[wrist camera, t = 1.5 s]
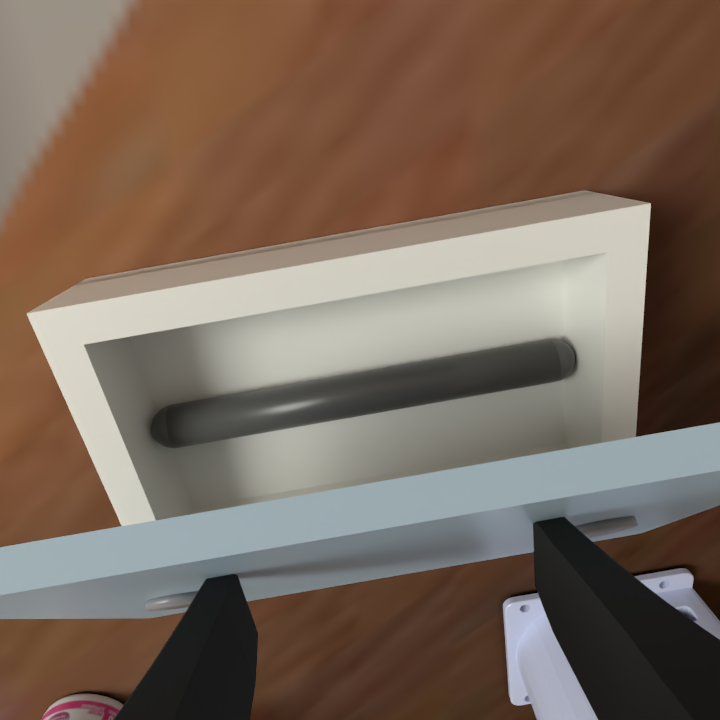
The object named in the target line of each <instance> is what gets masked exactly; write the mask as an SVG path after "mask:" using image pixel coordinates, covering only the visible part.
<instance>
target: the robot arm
mask: <svg viewBox="0 0 720 720" xmlns="http://www.w3.org/2000/svg"><path fill="white" fill-rule="evenodd" d="M533 540H534V570H535V587H536V589H537V592H538V593H534V594H528V595H522V596H516V597H511V598H508V599H507V600H506V601H505V602H504V603H503V616H504V630H505V645H506V659H507V674H508V688H509V697H510V700H511V703H513V704H514V705H525V704H532V707H533V710H534V713H535V715H536V718H537V720H720V621H719V620H718V618H717V617H716V616H715V615H714V613H713V612H712V611H711V610H710V609H709V607H708V606H707V605H706V604H705V603H704V601H703V600H702V599H701V598H700V596H699V595H698V594H697V593H696V592H695V590H694V589H693V588H692V587H693V580H694V578H693V575H692V574H691V573H690V572H689V570H688V569H685V568H679V569H673V570H667V571H661V572H656V573H650V574H644V575H638V576H633V575H632V574H630V573H629V572H628V571H627V570H625V569H624V568H623V567H622V566H620V565H619V564H618V563H617V562H616V561H614V560H613V559H612V558H611V557H610V556H608V555H607V554H606V553H605V552H604V551H603V550H601V549H600V548H599V547H598V546H597V545H596V544H594V543H593V542H592V541H591V540H590V539H589V538H588V537H586V536H585V535H584V534H583V533H582V532H581V531H580V530H579V529H577V528H576V527H575V526H574V525H573V524H572V523H571V522H570V521H568V520H567V519H566V518H565V517H560V518H554V519H548V520H542V521H537V522H534V523H533ZM257 642H258V632H257V630H256V627H255V624H254V621H253V618H252V615H251V612H250V609H249V607H248V604H247V601H246V598H245V595H244V592H243V589H242V587H241V584H240V581H239V578H238V575H236V574H231V575H225V576H219V577H213V578H207V579H206V580H205V581H204V583H203V584H202V586H201V587H200V589H199V591H198V592H197V594H196V596H195V597H194V599H193V601H192V602H191V604H190V606H189V607H188V609H187V611H186V612H185V614H184V615H183V617H182V619H181V620H180V622H179V623H178V625H177V627H176V628H175V630H174V631H173V633H172V635H171V636H170V638H169V639H168V641H167V642H166V644H165V645H164V647H163V648H162V650H161V652H160V653H159V655H158V656H157V658H156V659H155V661H154V662H153V664H152V665H151V667H150V668H149V670H148V671H147V673H146V674H145V676H144V677H143V679H142V680H141V681H140V683H139V684H138V686H137V687H136V688H135V690H134V691H133V693H132V694H131V696H130V697H129V698H128V700H127V701H126V703H125V704H124V705H123V707H122V708H121V710H120V711H119V712H118V714H117V715H116V717H115V718H114V719H113V720H250V715H251V708H252V702H253V695H254V689H255V681H256V664H257Z"/></svg>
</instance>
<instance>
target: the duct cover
mask: <svg viewBox="0 0 720 720" xmlns="http://www.w3.org/2000/svg"><path fill="white" fill-rule="evenodd" d="M719 505H720V422H719V423H713V424H708V425H702V426H696V427H690V428H685V429H679V430H673V431H667V432H662V433H656V434H650V435H644V436H639V437H633V438H627V439H621V440H616V441H610V442H604V443H598V444H593V445H587V446H581V447H575V448H570V449H564V450H558V451H552V452H547V453H541V454H535V455H529V456H524V457H518V458H512V459H506V460H501V461H495V462H489V463H483V464H478V465H472V466H466V467H460V468H455V469H449V470H443V471H437V472H432V473H426V474H420V475H414V476H409V477H403V478H397V479H391V480H386V481H380V482H374V483H368V484H363V485H357V486H351V487H345V488H340V489H334V490H328V491H322V492H317V493H311V494H305V495H299V496H294V497H288V498H282V499H276V500H271V501H265V502H259V503H253V504H248V505H242V506H236V507H230V508H225V509H219V510H213V511H207V512H202V513H196V514H190V515H184V516H179V517H173V518H167V519H161V520H156V521H150V522H144V523H138V524H133V525H127V526H121V527H115V528H110V529H104V530H98V531H92V532H87V533H81V534H75V535H69V536H64V537H58V538H52V539H46V540H41V541H35V542H29V543H23V544H18V545H12V546H6V547H0V619H86V618H154V617H160V616H165V615H171V614H177V613H183V612H186V611H187V609H188V607H189V606H190V604H191V602H192V601H193V599H194V597H195V596H196V594H197V592H198V591H199V589H200V587H201V586H202V584H203V583H204V581H205V580H206V579H207V578H213V577H219V576H225V575H231V574H236V575H238V578H239V581H240V584H241V587H242V589H243V592H244V595H245V598H246V601H252V600H258V599H264V598H270V597H275V596H281V595H287V594H293V593H299V592H304V591H310V590H316V589H322V588H328V587H333V586H339V585H345V584H351V583H356V582H362V581H368V580H374V579H380V578H385V577H391V576H397V575H403V574H409V573H414V572H420V571H426V570H432V569H437V568H443V567H449V566H455V565H461V564H466V563H472V562H478V561H484V560H490V559H495V558H501V557H507V556H513V555H519V554H524V553H530V552H534V540H533V523H534V522H537V521H542V520H548V519H554V518H560V517H565V518H566V519H567V520H568V521H570V522H571V523H572V524H573V525H574V526H575V527H576V528H577V529H579V530H580V531H581V532H582V533H583V534H584V535H585V536H586V537H588V538H589V539H590V540H591V541H592V542H594V541H600V540H605V539H611V538H617V537H623V536H629V535H634V534H640V533H644V532H646V531H649V530H652V529H655V528H657V527H660V526H663V525H666V524H669V523H671V522H674V521H677V520H680V519H683V518H685V517H688V516H691V515H694V514H696V513H699V512H702V511H705V510H708V509H710V508H713V507H716V506H719Z"/></svg>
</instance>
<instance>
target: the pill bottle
mask: <svg viewBox="0 0 720 720" xmlns="http://www.w3.org/2000/svg"><path fill="white" fill-rule="evenodd" d="M122 707H123V704H122V703H120V702H119V701H117V700H115V699H112V698H110V697H106V696H102V695H97V694H85V693H84V694H74V695H70V696H67V697H64V698H62V699H60V700H58V701H56V702H55V703H54V704H52V705H51V706H50V707H49V709H48V710H47V711H46V713H45V714H44V716H43V718H42V720H113V719H114V718H115V717H116V715H117V714H118V712H119V711H120V710H121V708H122Z"/></svg>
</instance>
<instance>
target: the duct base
mask: <svg viewBox="0 0 720 720" xmlns="http://www.w3.org/2000/svg"><path fill="white" fill-rule="evenodd" d="M650 210H651V203H647V202H642V201H637V200H632V199H627V198H622V197H616V196H611V195H606V194H601V193H596V192H591V191H586V190H584V191H579V192H573V193H567V194H562V195H556V196H550V197H545V198H539V199H533V200H528V201H522V202H516V203H511V204H505V205H499V206H494V207H488V208H483V209H477V210H471V211H466V212H460V213H454V214H449V215H443V216H437V217H432V218H426V219H420V220H415V221H409V222H403V223H398V224H392V225H386V226H381V227H375V228H369V229H364V230H358V231H352V232H347V233H341V234H336V235H330V236H324V237H319V238H313V239H307V240H302V241H296V242H290V243H285V244H279V245H273V246H268V247H262V248H256V249H251V250H245V251H239V252H234V253H228V254H222V255H217V256H211V257H205V258H200V259H194V260H188V261H183V262H177V263H172V264H166V265H160V266H155V267H149V268H143V269H138V270H132V271H126V272H121V273H115V274H109V275H104V276H98V277H92V278H87V279H85V280H83V281H81V282H80V283H78V284H76V285H74V286H73V287H71V288H69V289H68V290H66V291H64V292H62V293H61V294H59V295H57V296H56V297H54V298H52V299H50V300H49V301H47V302H45V303H44V304H42V305H40V306H38V307H37V308H35V309H33V310H32V311H30V312H28V313H26V314H27V316H28V318H29V320H30V322H31V325H32V327H33V329H34V331H35V334H36V336H37V338H38V340H39V342H40V345H41V347H42V349H43V351H44V354H45V356H46V358H47V360H48V363H49V365H50V367H51V369H52V371H53V374H54V376H55V378H56V380H57V383H58V385H59V387H60V389H61V392H62V394H63V396H64V398H65V400H66V403H67V405H68V407H69V409H70V412H71V414H72V416H73V418H74V421H75V423H76V425H77V427H78V429H79V432H80V434H81V436H82V438H83V441H84V443H85V445H86V447H87V450H88V452H89V454H90V456H91V458H92V461H93V463H94V465H95V467H96V470H97V472H98V474H99V476H100V478H101V481H102V483H103V485H104V487H105V490H106V492H107V494H108V496H109V499H110V501H111V503H112V505H113V507H114V510H115V512H116V514H117V516H118V519H119V521H120V523H121V525H122V526H127V525H133V524H138V523H144V522H150V521H156V520H161V519H167V518H173V517H179V516H184V515H190V514H196V513H202V512H207V511H213V510H219V509H225V508H230V507H236V506H242V505H248V504H253V503H259V502H265V501H271V500H276V499H282V498H288V497H294V496H299V495H305V494H311V493H317V492H322V491H328V490H334V489H340V488H345V487H351V486H357V485H363V484H368V483H374V482H380V481H386V480H391V479H397V478H403V477H409V476H414V475H420V474H426V473H432V472H437V471H443V470H449V469H455V468H460V467H466V466H472V465H478V464H483V463H489V462H495V461H501V460H506V459H512V458H518V457H524V456H529V455H535V454H541V453H547V452H552V451H558V450H564V449H570V448H575V447H581V446H587V445H593V444H598V443H604V442H610V441H616V440H621V439H627V438H633V437H636V426H637V410H638V395H639V380H640V364H641V349H642V333H643V318H644V303H645V287H646V272H647V257H648V241H649V226H650Z"/></svg>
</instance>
